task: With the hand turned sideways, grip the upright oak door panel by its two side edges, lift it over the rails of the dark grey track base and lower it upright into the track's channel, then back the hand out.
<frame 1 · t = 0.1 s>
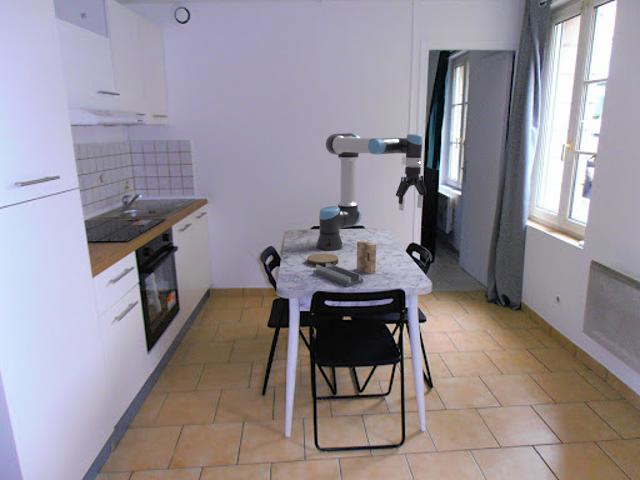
hand: (410, 209, 226), 28 cm above the table, tool pointing down, fingers open, 13 cm apart
door: (365, 270, 219), on the table
track: (337, 277, 208), on the table
wood log slice: (322, 263, 233), on the table
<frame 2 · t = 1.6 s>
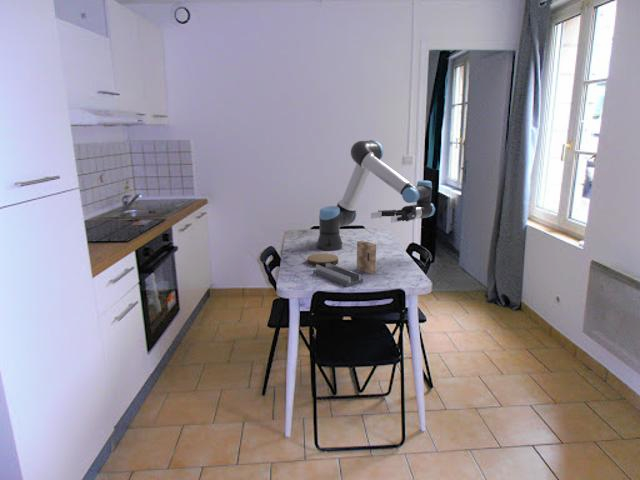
hand: (381, 217, 218), 25 cm above the table, tool horizontal, fingers open, 13 cm apart
nothing on the table moved.
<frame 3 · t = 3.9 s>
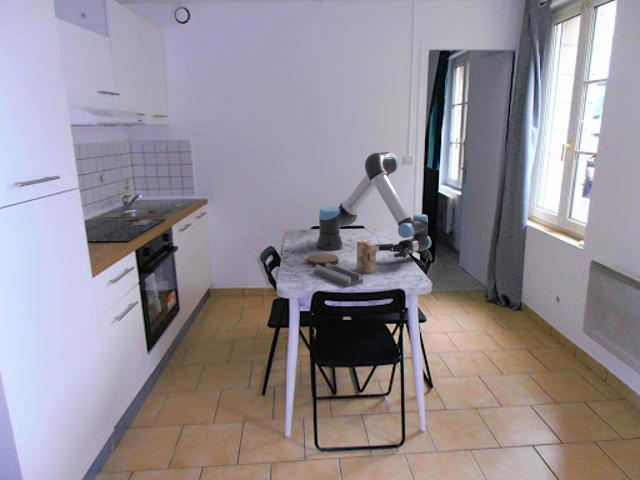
hand: (378, 253, 221), 7 cm above the table, tool horizontal, fingers open, 13 cm apart
nothing on the table moved.
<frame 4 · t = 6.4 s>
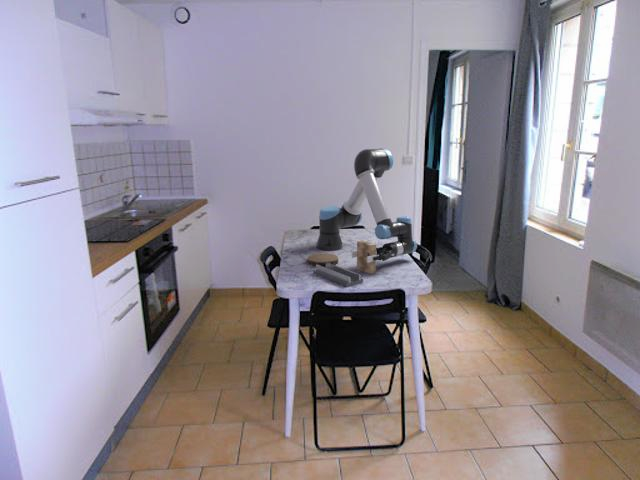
hand: (359, 257, 214), 8 cm above the table, tool horizontal, fingers closed on door, 10 cm apart
door: (365, 270, 219), on the table, touching gripper
everything else where it was.
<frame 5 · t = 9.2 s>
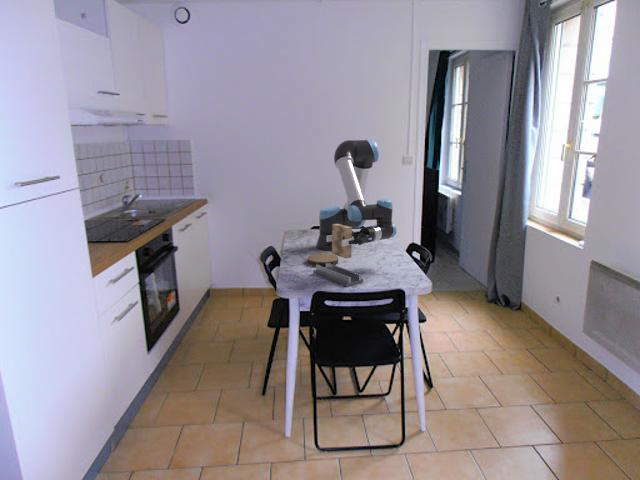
hand: (334, 241, 202), 18 cm above the table, tool horizontal, fingers closed on door, 10 cm apart
door: (341, 255, 206), point 11 cm above the table, touching gripper
everything else where it was.
when the fingers open (10 cm above the table, at t = 11.9 s): door stays where it is, resting on track.
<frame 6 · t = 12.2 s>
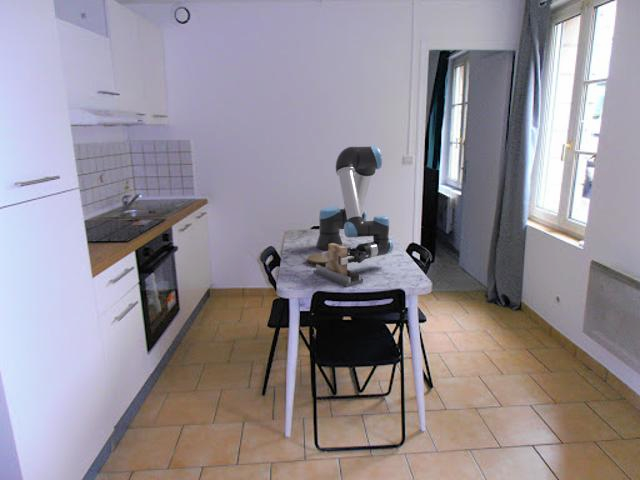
hand: (331, 258, 204), 10 cm above the table, tool horizontal, fingers open, 13 cm apart
door: (337, 274, 208), point 1 cm above the table, touching track
everything else where it was.
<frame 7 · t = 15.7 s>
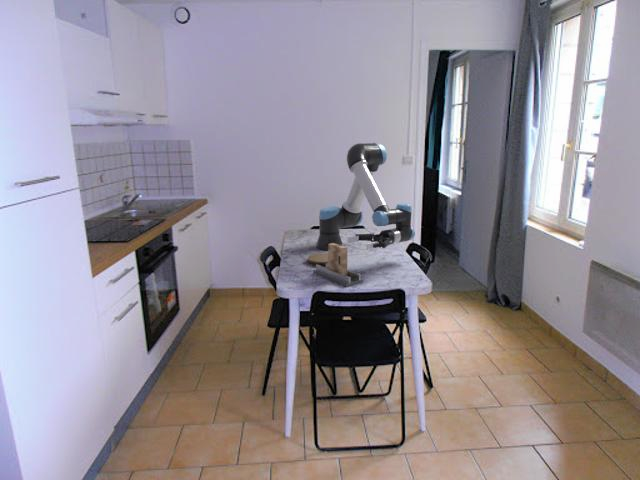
hand: (357, 243, 211), 15 cm above the table, tool horizontal, fingers open, 13 cm apart
nothing on the table moved.
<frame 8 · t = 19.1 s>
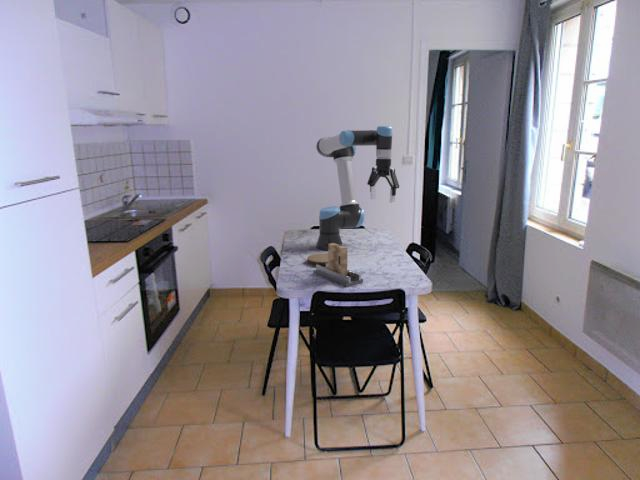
hand: (382, 200, 228), 32 cm above the table, tool pointing down, fingers open, 13 cm apart
nothing on the table moved.
at the end: door inside the target area on the track (0.1 cm from its centre), point 1.5 cm above the track's base; door tilted 0°; the gripper is holding nothing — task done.
